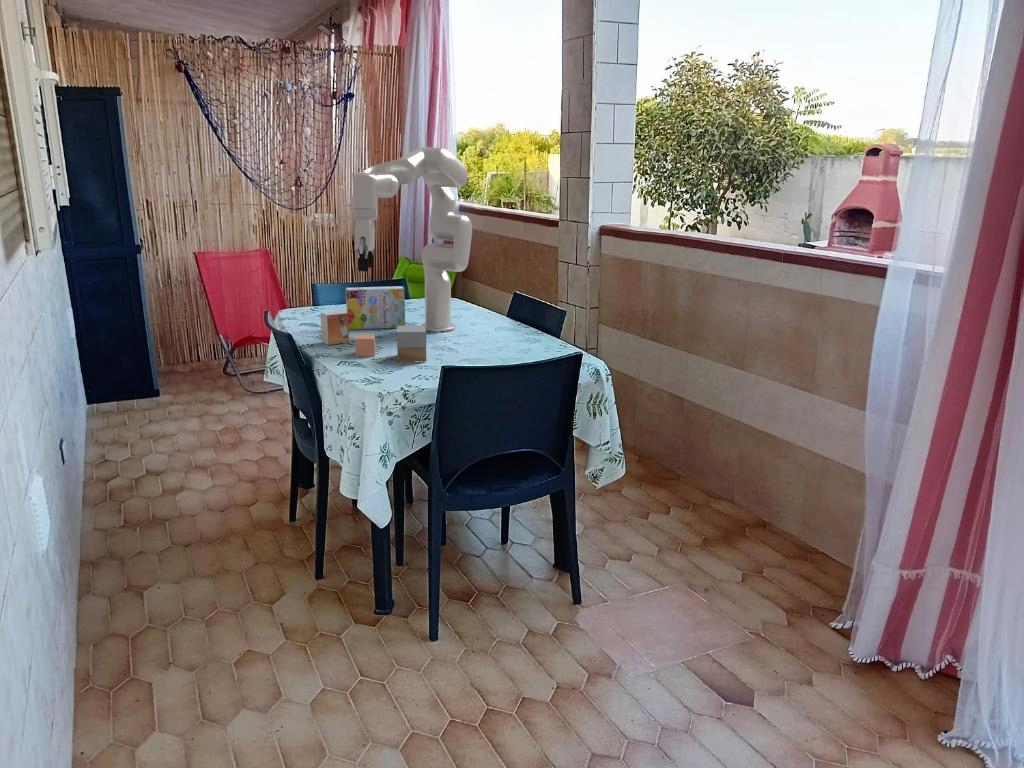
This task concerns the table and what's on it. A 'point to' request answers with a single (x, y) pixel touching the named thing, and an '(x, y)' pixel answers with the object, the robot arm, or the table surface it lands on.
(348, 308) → the snack box
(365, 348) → the terracotta cube
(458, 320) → the table surface
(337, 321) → the small box
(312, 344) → the table surface
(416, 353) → the tower bottom block
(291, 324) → the table surface
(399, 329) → the tower top block
